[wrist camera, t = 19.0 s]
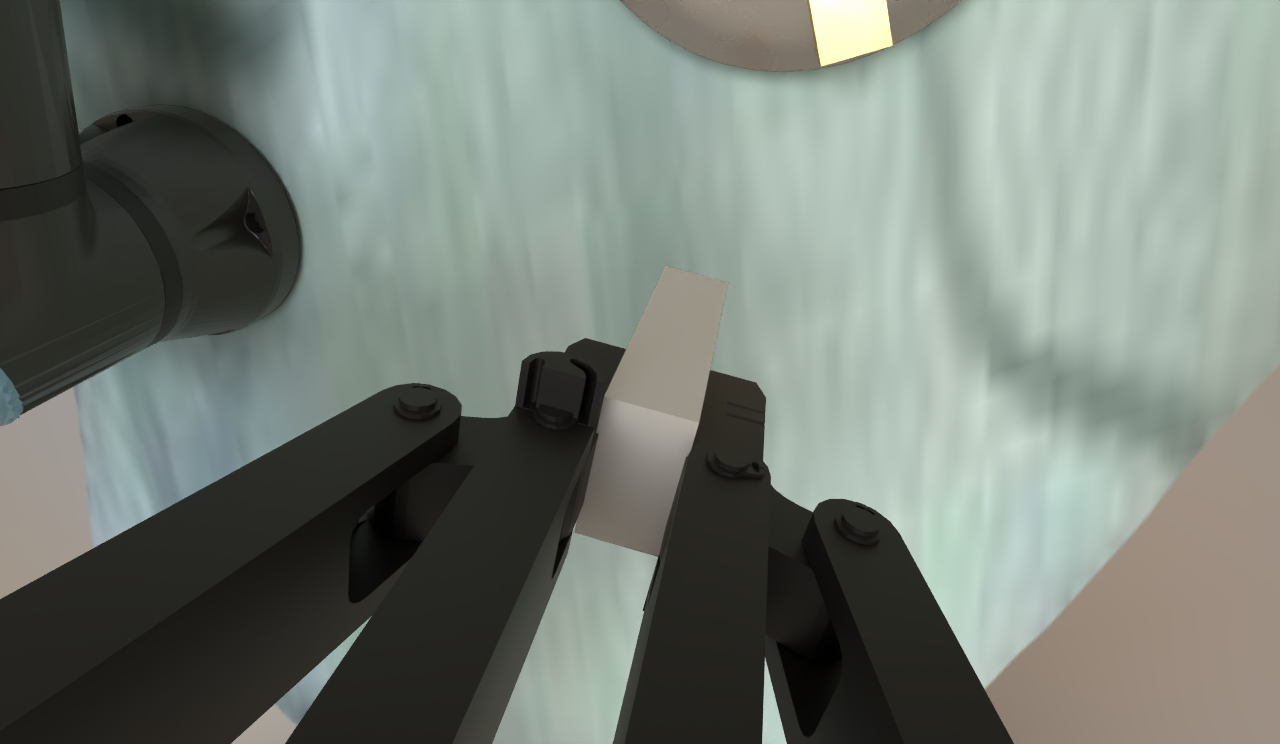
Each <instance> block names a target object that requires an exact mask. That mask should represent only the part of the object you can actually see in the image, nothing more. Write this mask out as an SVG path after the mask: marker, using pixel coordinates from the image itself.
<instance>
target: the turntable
mask: <svg viewBox="0 0 1280 744" xmlns="http://www.w3.org/2000/svg"><path fill="white" fill-rule="evenodd" d="M620 1H621V2H622V3H624V4H625V5H626V6H627V7H628V8H629V9H630V10H631V11H632V12H633V13H634V14H635V15H636V16H637V17H638V18H639V19H641V20H642V21H643V22H644V23H646V24H647V25H648V26H650V27H651V28H653V29H654V30H655V31H657V32H658V33H660V34H661V35H662V36H664V37H665V38H667V39H668V40H670V41H672V42H674V43H676V44H677V45H679V46H681V47H683V48H685V49H687V50H689V51H691V52H693V53H695V54H697V55H700V56H703V57H706V58H709V59H711V60H714V61H717V62H720V63H723V64H727V65H732V66H737V67H742V68H747V69H752V70H763V71H782V72H788V71H800V70H812V69H820V68H824V67H829V66H833V65H838V64H842V63H847V62H851V61H854V60H856V59H859V58H862V57H865V56H867V55H870V54H873V53H876V52H878V51H881V50H884V49H885V48H887V47H889V46H892V45H893V44H895V43H897V42H899V41H901V40H903V39H905V38H907V37H909V36H911V35H913V34H915V33H916V32H918V31H919V30H921V29H922V28H924V27H925V26H927V25H928V24H930V23H931V22H933V21H934V20H936V19H937V18H939V17H940V16H942V15H943V14H945V13H946V12H947V11H949V10H950V9H951V8H952V7H953V6H955V5H956V4H957V3H958V2H959V1H960V0H620Z"/></svg>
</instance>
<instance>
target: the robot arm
mask: <svg viewBox="0 0 1280 744" xmlns="http://www.w3.org/2000/svg"><path fill="white" fill-rule="evenodd" d="M298 259H299V242H298V233H297V228H296V224H295V220H294V216H293V213H292V210H291V207H290V204H289V202H288V199H287V197H286V195H285V193H284V191H283V189H282V187H281V185H280V183H279V182H278V180H277V178H276V177H275V175H274V174H273V172H272V171H271V169H270V168H269V166H268V165H267V164H266V163H265V161H264V160H263V159H262V158H261V157H260V155H259V154H258V153H257V152H256V151H255V150H254V149H253V148H252V147H251V146H250V145H249V144H248V143H247V142H246V141H245V140H244V139H243V138H242V137H240V136H239V135H238V134H237V133H235V132H234V131H233V130H231V129H230V128H228V127H227V126H225V125H224V124H222V123H221V122H219V121H217V120H215V119H214V118H212V117H210V116H208V115H205V114H203V113H201V112H198V111H195V110H192V109H189V108H185V107H180V106H174V105H152V106H145V107H138V108H131V109H125V110H121V111H117V112H114V113H112V114H109V115H107V116H105V117H102V118H100V119H99V120H97V121H96V122H94V123H93V124H91V125H90V126H88V127H87V128H85V129H84V130H82V131H81V132H80V133H78V127H77V120H76V113H75V106H74V99H73V92H72V85H71V78H70V71H69V64H68V57H67V50H66V43H65V36H64V29H63V22H62V15H61V8H60V1H59V0H0V426H3V425H7V424H9V423H11V422H13V421H14V420H15V419H17V418H19V415H21V414H23V413H25V412H27V411H29V410H31V409H33V408H35V407H36V406H38V405H40V404H42V403H44V402H46V401H48V400H50V399H51V398H53V397H55V396H57V395H59V394H61V393H63V392H65V391H66V390H68V389H70V388H72V387H74V386H76V385H78V384H80V383H81V382H83V381H85V380H87V379H89V378H91V377H93V376H95V375H96V374H98V373H100V372H102V371H104V370H106V369H108V368H110V367H111V366H113V365H115V364H117V363H119V362H121V361H123V360H125V359H126V358H128V357H130V356H132V355H134V354H136V353H138V352H140V351H141V350H143V349H145V348H147V347H149V346H151V345H153V344H155V343H157V342H159V341H167V340H175V339H183V338H190V337H196V336H203V335H220V334H226V333H230V332H233V331H236V330H239V329H242V328H244V327H246V326H248V325H250V324H252V323H254V322H255V321H257V320H259V319H261V318H262V317H264V316H266V315H268V314H269V313H271V312H272V311H273V310H275V309H276V308H277V307H278V306H279V305H280V304H281V303H282V302H283V300H284V299H285V298H286V296H287V294H288V293H289V291H290V289H291V287H292V285H293V282H294V280H295V276H296V272H297V267H298ZM727 286H728V282H725V281H721V280H717V279H713V278H710V277H706V276H702V275H698V274H695V273H691V272H687V271H683V270H679V269H676V268H672V267H668V266H665V268H664V270H663V273H662V275H661V277H660V279H659V281H658V283H657V285H656V287H655V290H654V292H653V294H652V296H651V298H650V300H649V302H648V304H647V307H646V309H645V311H644V313H643V315H642V317H641V319H640V321H639V323H638V326H637V328H636V330H635V332H634V334H633V336H632V338H631V340H630V343H629V345H628V347H627V349H623V348H620V347H616V346H612V345H609V344H605V343H601V342H598V341H594V340H590V339H587V338H585V339H583V340H580V341H578V342H576V343H574V344H572V345H569V346H568V348H567V349H566V351H565V353H563V352H540V353H536V354H532V355H529V356H528V357H527V358H525V359H524V360H523V361H522V365H521V371H520V378H519V385H518V391H517V398H516V404H515V407H514V408H513V410H512V411H511V413H510V414H509V416H508V417H501V418H477V417H465V416H461V408H462V405H461V403H460V402H459V400H458V399H457V398H456V396H454V395H453V394H451V393H449V392H448V391H446V390H444V389H441V388H438V387H435V386H432V385H427V384H419V383H412V384H403V385H396V386H393V387H390V388H387V389H385V390H382V391H380V392H379V393H377V394H375V395H373V396H371V397H369V398H368V399H366V400H364V401H362V402H360V403H358V404H357V405H355V406H353V407H351V408H349V409H347V410H346V411H344V412H342V413H340V414H338V415H336V416H335V417H333V418H331V419H329V420H327V421H325V422H324V423H322V424H320V425H318V426H316V427H315V428H313V429H311V430H309V431H307V432H305V433H304V434H302V435H300V436H298V437H296V438H294V439H293V440H291V441H289V442H287V443H285V444H283V445H282V446H280V447H278V448H276V449H274V450H272V451H271V452H269V453H267V454H265V455H263V456H261V457H260V458H258V459H256V460H254V461H252V462H250V463H249V464H247V465H245V466H243V467H241V468H240V469H238V470H236V471H234V472H232V473H230V474H229V475H227V476H225V477H223V478H221V479H219V480H218V481H216V482H214V483H212V484H210V485H208V486H207V487H205V488H203V489H201V490H199V491H197V492H196V493H194V494H192V495H190V496H188V497H186V498H185V499H183V500H181V501H179V502H177V503H175V504H174V505H172V506H170V507H168V508H166V509H164V510H163V511H161V512H159V513H157V514H155V515H154V516H152V517H150V518H148V519H146V520H144V521H143V522H141V523H139V524H137V525H135V526H133V527H132V528H130V529H128V530H126V531H124V532H122V533H121V534H119V535H117V536H115V537H113V538H111V539H110V540H108V541H106V542H104V543H102V544H100V545H99V546H97V547H95V548H93V549H91V550H90V551H88V552H86V553H84V554H82V555H80V556H79V557H77V558H75V559H73V560H71V561H70V562H68V563H66V564H64V565H62V566H60V567H58V568H57V569H55V570H53V571H51V572H49V573H47V574H46V575H44V576H42V577H40V578H38V579H37V580H35V581H33V582H31V583H29V584H27V585H25V586H24V587H22V588H20V589H18V590H16V591H15V592H13V593H11V594H9V595H7V596H5V597H4V598H2V599H0V744H231V743H232V742H233V741H234V740H235V739H236V738H237V737H238V736H240V735H241V734H242V733H243V732H244V731H245V730H246V729H247V728H248V727H249V726H251V725H252V724H253V723H254V722H255V721H256V720H257V719H258V718H259V717H260V716H262V715H263V714H264V713H265V712H266V711H267V710H268V709H269V708H270V707H272V706H273V705H274V704H275V703H276V702H277V701H278V700H279V699H280V698H282V697H283V696H284V695H285V694H286V693H287V692H288V691H289V690H290V689H291V688H293V687H294V686H295V685H296V684H297V683H298V682H299V681H300V680H301V679H303V678H304V677H305V676H306V675H307V674H308V673H309V672H310V671H311V670H312V669H314V668H315V667H316V666H317V665H318V664H319V663H320V662H321V661H322V660H323V659H325V658H326V657H327V656H328V655H329V654H330V653H331V652H332V651H333V650H334V649H336V648H337V647H338V646H339V645H340V644H341V643H342V642H343V641H344V640H346V639H347V638H348V637H349V636H350V635H351V634H352V633H353V632H354V631H355V630H357V629H358V628H359V627H360V626H361V625H362V624H363V623H364V622H365V621H366V620H368V619H369V618H370V617H371V616H372V617H371V618H370V620H369V621H368V623H367V624H366V626H365V627H364V629H363V630H362V632H361V633H360V635H359V636H358V637H357V639H356V640H355V642H354V643H353V645H352V646H351V648H350V649H349V651H348V652H347V654H346V655H345V657H344V658H343V659H342V661H341V662H340V664H339V665H338V667H337V668H336V670H335V671H334V673H333V674H332V676H331V677H330V679H329V680H328V681H327V683H326V684H325V686H324V687H323V689H322V690H321V692H320V693H319V695H318V696H317V698H316V699H315V701H314V702H313V704H312V705H311V706H310V708H309V709H308V711H307V712H306V714H305V715H304V717H303V718H302V720H301V721H300V723H299V724H298V726H297V727H296V729H295V730H294V731H293V733H292V734H291V736H290V737H289V739H288V741H287V742H286V743H285V744H492V742H493V740H494V737H495V735H496V732H497V730H498V727H499V725H500V722H501V720H502V717H503V715H504V712H505V710H506V707H507V705H508V702H509V699H510V697H511V694H512V692H513V689H514V687H515V684H516V682H517V679H518V677H519V674H520V672H521V669H522V667H523V664H524V662H525V659H526V657H527V654H528V652H529V649H530V647H531V644H532V642H533V639H534V637H535V634H536V632H537V629H538V626H539V624H540V621H541V619H542V616H543V614H544V611H545V609H546V606H547V604H548V601H549V599H550V596H551V594H552V591H553V589H554V586H555V584H556V581H557V579H558V576H559V574H560V571H561V569H562V566H563V564H564V561H565V559H566V556H567V553H568V549H569V545H570V540H571V536H572V531H573V528H574V525H575V523H576V521H577V523H576V527H575V533H578V534H582V535H585V536H589V537H592V538H595V539H599V540H602V541H606V542H609V543H613V544H616V545H620V546H623V547H627V548H630V549H633V550H637V551H640V552H644V553H647V554H651V555H654V556H658V560H657V564H656V567H655V570H654V574H653V577H652V580H651V584H650V587H649V591H648V594H647V597H646V601H645V604H644V608H643V611H644V615H643V619H642V623H641V628H640V632H639V636H638V640H637V644H636V649H635V653H634V657H633V661H632V665H631V670H630V674H629V678H628V682H627V686H626V691H625V695H624V699H623V703H622V708H621V712H620V716H619V720H618V724H617V729H616V733H615V737H614V741H613V744H762V726H763V696H764V665H765V658H766V662H767V666H768V670H769V674H770V678H771V682H772V686H773V690H774V694H775V698H776V702H777V706H778V710H779V714H780V718H781V722H782V726H783V730H784V734H785V738H786V742H787V744H1014V743H1013V741H1012V739H1011V737H1010V736H1009V734H1008V732H1007V730H1006V728H1005V726H1004V725H1003V723H1002V721H1001V719H1000V717H999V715H998V714H997V712H996V710H995V708H994V706H993V704H992V703H991V701H990V699H989V697H988V695H987V693H986V691H985V690H984V688H983V686H982V684H981V682H980V680H979V679H978V677H977V675H976V673H975V671H974V669H973V668H972V666H971V664H970V662H969V660H968V658H967V657H966V655H965V653H964V651H963V649H962V647H961V646H960V644H959V642H958V640H957V638H956V636H955V635H954V633H953V631H952V629H951V627H950V625H949V624H948V622H947V620H946V618H945V616H944V614H943V612H942V611H941V609H940V607H939V605H938V603H937V601H936V600H935V598H934V596H933V594H932V592H931V590H930V589H929V587H928V585H927V583H926V581H925V579H924V578H923V576H922V574H921V572H920V570H919V568H918V567H917V565H916V563H915V561H914V559H913V557H912V556H911V554H910V552H909V550H908V548H907V546H906V545H905V543H904V541H903V539H902V537H901V535H900V533H899V532H898V531H897V530H896V528H895V527H894V526H893V525H892V523H891V522H890V521H889V520H887V519H886V518H885V517H884V516H882V515H881V514H880V513H878V512H877V511H876V510H874V509H872V508H870V507H867V506H866V505H864V504H861V503H858V502H853V501H849V500H846V499H828V500H826V501H823V502H821V503H819V504H818V505H817V507H816V508H815V510H814V512H811V511H809V510H807V509H805V508H803V507H801V506H799V505H797V504H795V503H794V502H792V501H790V500H788V499H787V498H785V497H784V496H782V495H781V494H780V493H779V492H777V491H776V490H775V489H774V488H773V487H772V485H771V484H770V483H771V476H770V473H769V469H768V467H767V465H766V464H765V463H764V462H763V449H764V427H765V426H764V423H765V406H766V397H765V396H764V394H763V392H762V391H761V389H760V388H759V386H758V385H757V383H755V382H752V381H748V380H744V379H741V378H737V377H733V376H730V375H726V374H722V373H719V372H715V371H711V370H710V368H711V363H712V358H713V353H714V348H715V344H716V339H717V334H718V329H719V324H720V320H721V315H722V310H723V305H724V300H725V295H726V291H727Z"/></svg>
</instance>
